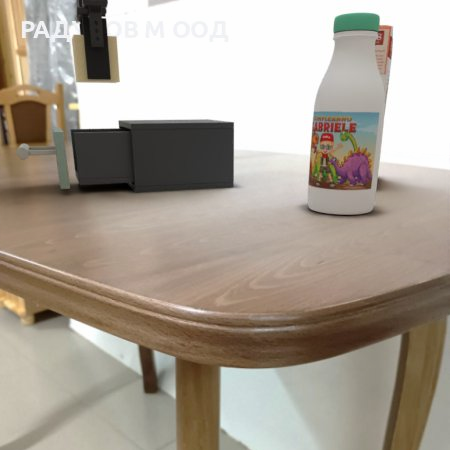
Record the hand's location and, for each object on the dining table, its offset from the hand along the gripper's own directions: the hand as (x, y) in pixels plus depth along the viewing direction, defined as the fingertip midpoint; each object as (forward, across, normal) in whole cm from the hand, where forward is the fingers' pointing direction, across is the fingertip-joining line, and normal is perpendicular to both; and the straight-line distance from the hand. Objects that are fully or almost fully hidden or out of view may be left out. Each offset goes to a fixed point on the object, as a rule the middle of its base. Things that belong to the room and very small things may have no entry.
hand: (97, 79), depth 62 cm
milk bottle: (+14, -19, -25) cm, 35 cm away
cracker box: (+14, -2, -38) cm, 41 cm away
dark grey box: (+14, +6, -11) cm, 19 cm away
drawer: (+14, +6, +2) cm, 15 cm away
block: (0, 0, 0) cm, 0 cm away
